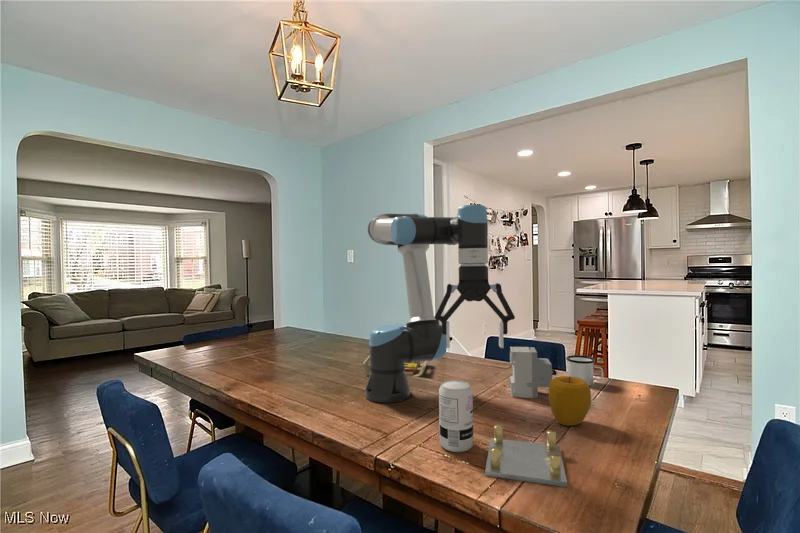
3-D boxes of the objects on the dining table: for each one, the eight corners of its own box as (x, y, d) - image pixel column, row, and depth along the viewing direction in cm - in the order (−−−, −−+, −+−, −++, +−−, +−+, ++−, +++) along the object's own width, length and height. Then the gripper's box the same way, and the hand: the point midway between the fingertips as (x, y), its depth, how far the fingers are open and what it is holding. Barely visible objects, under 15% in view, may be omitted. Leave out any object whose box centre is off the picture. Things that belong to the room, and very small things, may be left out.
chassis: (485, 475, 84) (484, 452, 84) (490, 441, 99) (490, 422, 99) (567, 487, 79) (566, 462, 79) (559, 449, 94) (559, 429, 94)
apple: (588, 435, 102) (588, 385, 102) (544, 426, 108) (544, 379, 107) (593, 420, 111) (593, 374, 111) (553, 412, 117) (552, 369, 117)
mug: (563, 384, 143) (563, 359, 143) (569, 377, 150) (569, 354, 150) (600, 390, 136) (600, 364, 136) (604, 383, 144) (604, 358, 143)
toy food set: (362, 376, 158) (362, 357, 158) (371, 364, 176) (371, 347, 176) (426, 378, 154) (425, 358, 154) (429, 365, 172) (428, 348, 172)
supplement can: (436, 438, 101) (435, 380, 101) (468, 437, 102) (467, 379, 102) (442, 454, 93) (442, 390, 93) (477, 452, 94) (476, 389, 94)
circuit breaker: (557, 399, 128) (557, 352, 128) (511, 396, 131) (511, 351, 131) (553, 391, 135) (553, 347, 135) (510, 389, 138) (509, 346, 138)
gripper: (424, 266, 100) (426, 350, 101) (525, 264, 98) (527, 350, 98) (425, 265, 108) (426, 343, 108) (519, 264, 105) (520, 343, 106)
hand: (474, 347), depth 103 cm, fingers open, 13 cm apart
